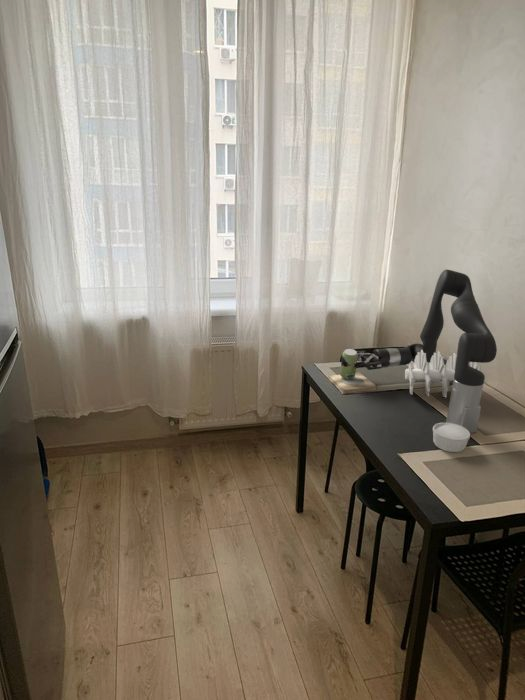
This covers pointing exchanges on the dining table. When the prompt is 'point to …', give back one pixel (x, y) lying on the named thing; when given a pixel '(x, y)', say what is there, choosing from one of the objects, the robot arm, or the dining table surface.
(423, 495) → the dining table surface
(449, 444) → the ramekin
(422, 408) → the dining table surface
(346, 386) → the hub seat
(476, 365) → the white adirondack chairs
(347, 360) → the beverage can
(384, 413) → the dining table surface
